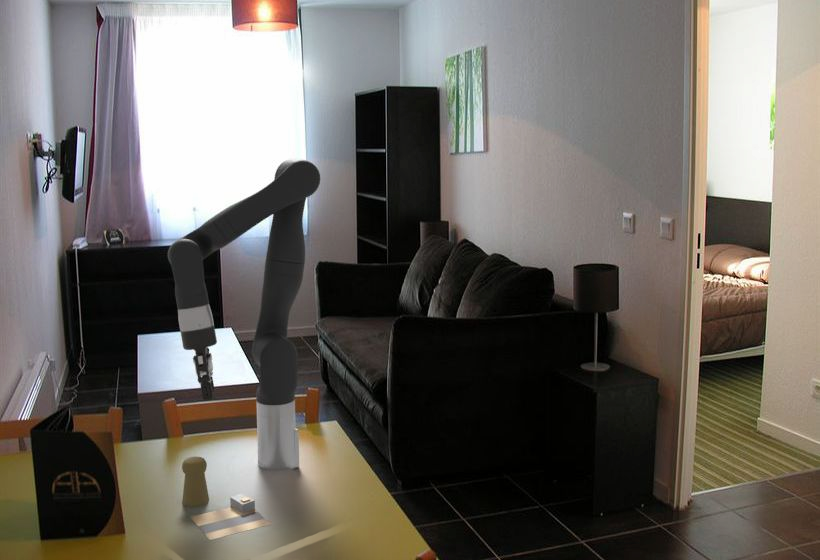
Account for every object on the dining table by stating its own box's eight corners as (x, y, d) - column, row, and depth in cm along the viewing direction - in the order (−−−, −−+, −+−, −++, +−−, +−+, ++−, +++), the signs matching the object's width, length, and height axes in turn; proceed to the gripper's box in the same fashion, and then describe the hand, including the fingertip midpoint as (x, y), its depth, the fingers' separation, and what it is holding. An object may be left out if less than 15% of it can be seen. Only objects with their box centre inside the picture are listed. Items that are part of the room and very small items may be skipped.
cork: (215, 502, 184) (213, 455, 182) (200, 514, 179) (198, 465, 177) (192, 498, 186) (190, 451, 184) (176, 509, 181) (174, 461, 179)
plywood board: (249, 508, 182) (248, 502, 181) (270, 529, 172) (270, 524, 171) (190, 522, 175) (190, 516, 174) (209, 545, 165) (209, 539, 165)
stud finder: (242, 501, 182) (242, 491, 182) (254, 509, 178) (254, 499, 178) (230, 505, 180) (230, 495, 180) (242, 513, 176) (242, 503, 176)
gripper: (212, 327, 182) (225, 399, 184) (215, 320, 196) (226, 387, 198) (177, 333, 181) (190, 405, 182) (182, 326, 195) (194, 393, 196)
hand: (209, 396), depth 190 cm, fingers open, 8 cm apart
